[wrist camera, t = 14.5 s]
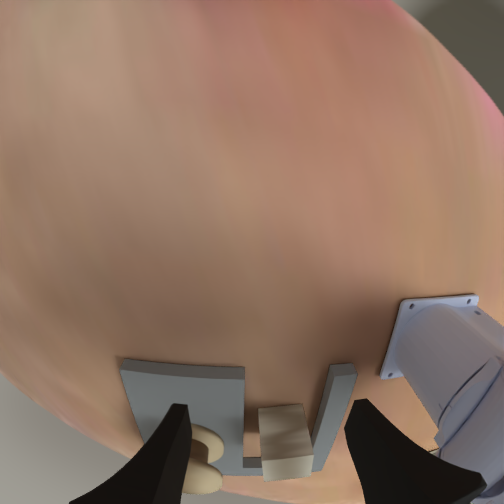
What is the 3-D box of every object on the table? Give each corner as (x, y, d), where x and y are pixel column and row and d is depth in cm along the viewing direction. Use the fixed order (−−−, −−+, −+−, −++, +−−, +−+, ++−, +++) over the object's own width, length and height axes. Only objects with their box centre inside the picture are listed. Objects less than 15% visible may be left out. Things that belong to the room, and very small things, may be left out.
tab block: (302, 403, 23) (313, 454, 18) (300, 428, 24) (310, 476, 19) (258, 408, 23) (261, 460, 18) (260, 432, 24) (263, 481, 19)
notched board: (352, 363, 22) (357, 374, 21) (319, 461, 27) (321, 470, 25) (124, 358, 21) (119, 369, 20) (157, 458, 26) (155, 468, 24)
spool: (222, 424, 22) (220, 467, 17) (225, 459, 24) (223, 496, 19) (152, 418, 22) (140, 457, 17) (164, 454, 23) (156, 489, 19)
